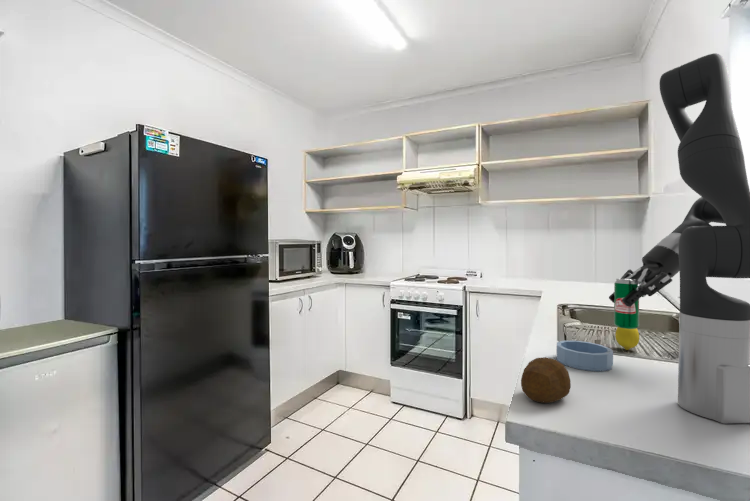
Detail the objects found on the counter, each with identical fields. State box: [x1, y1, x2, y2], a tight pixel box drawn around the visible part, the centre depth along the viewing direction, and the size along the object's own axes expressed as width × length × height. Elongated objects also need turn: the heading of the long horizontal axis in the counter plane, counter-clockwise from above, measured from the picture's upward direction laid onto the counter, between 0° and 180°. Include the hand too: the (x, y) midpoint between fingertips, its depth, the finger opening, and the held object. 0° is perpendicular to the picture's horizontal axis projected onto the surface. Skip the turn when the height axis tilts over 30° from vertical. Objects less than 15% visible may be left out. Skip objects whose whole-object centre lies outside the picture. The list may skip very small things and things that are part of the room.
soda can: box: [613, 278, 640, 329], centre depth 87 cm, size 5×5×12 cm
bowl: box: [555, 340, 614, 372], centre depth 88 cm, size 12×12×4 cm
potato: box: [520, 356, 572, 404], centre depth 68 cm, size 8×12×8 cm, turn 136°
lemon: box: [614, 326, 640, 351], centre depth 100 cm, size 6×6×8 cm
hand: (618, 302), depth 88 cm, fingers closed on soda can, 5 cm apart
